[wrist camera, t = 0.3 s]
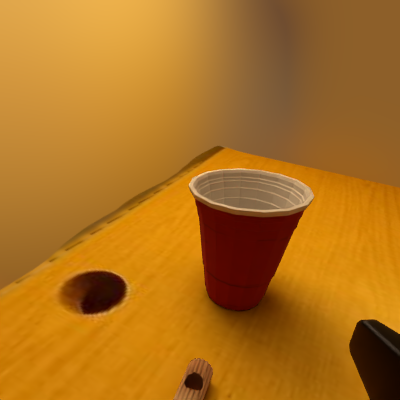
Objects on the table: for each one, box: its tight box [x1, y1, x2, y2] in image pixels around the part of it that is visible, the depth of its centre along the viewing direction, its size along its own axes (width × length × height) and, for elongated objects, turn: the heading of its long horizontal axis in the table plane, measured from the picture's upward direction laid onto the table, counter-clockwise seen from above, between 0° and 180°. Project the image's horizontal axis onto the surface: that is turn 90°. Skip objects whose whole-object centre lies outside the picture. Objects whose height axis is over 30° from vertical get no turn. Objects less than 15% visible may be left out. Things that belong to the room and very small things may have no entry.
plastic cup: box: [189, 169, 314, 311], centre depth 33 cm, size 11×11×12 cm
